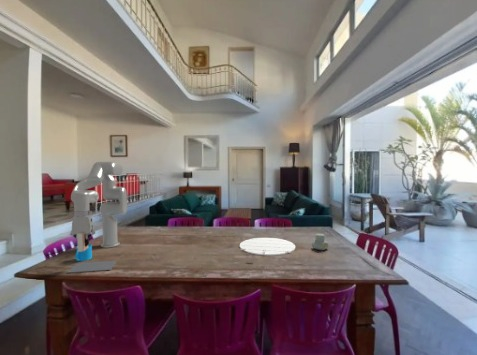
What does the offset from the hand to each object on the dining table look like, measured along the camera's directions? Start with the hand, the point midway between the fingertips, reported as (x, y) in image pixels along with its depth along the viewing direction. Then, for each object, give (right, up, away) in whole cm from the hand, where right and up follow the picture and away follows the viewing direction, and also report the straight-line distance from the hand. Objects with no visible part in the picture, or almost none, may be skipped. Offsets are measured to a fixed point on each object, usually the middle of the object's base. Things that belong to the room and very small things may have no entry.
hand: (83, 245), depth 154 cm
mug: (-8, -13, +14) cm, 20 cm away
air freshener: (+144, -11, +32) cm, 148 cm away
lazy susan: (+108, -11, +38) cm, 115 cm away
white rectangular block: (0, -2, 0) cm, 2 cm away
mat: (+5, -13, +2) cm, 14 cm away
